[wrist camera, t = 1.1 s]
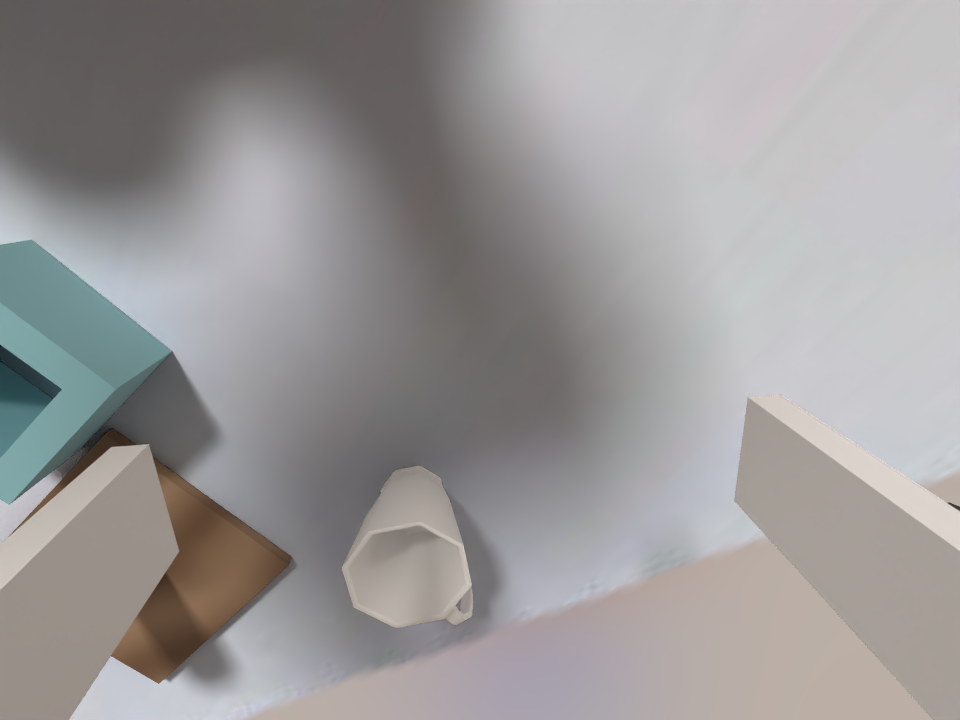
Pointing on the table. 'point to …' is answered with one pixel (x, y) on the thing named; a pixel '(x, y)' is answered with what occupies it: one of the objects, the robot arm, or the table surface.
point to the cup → (410, 555)
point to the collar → (60, 364)
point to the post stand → (189, 572)
